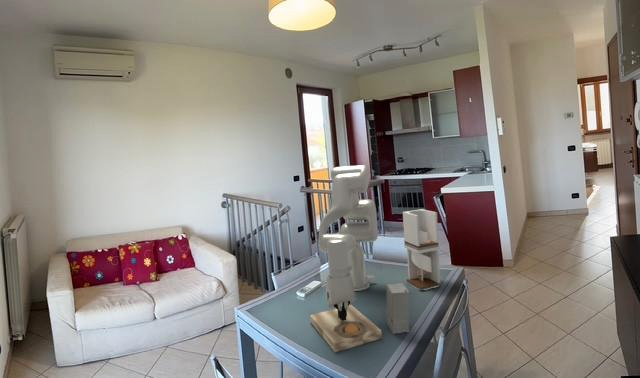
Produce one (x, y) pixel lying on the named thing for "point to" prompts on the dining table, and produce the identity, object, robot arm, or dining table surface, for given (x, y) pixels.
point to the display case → (422, 248)
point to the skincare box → (397, 308)
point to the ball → (351, 329)
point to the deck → (335, 328)
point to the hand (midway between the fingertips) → (342, 319)
